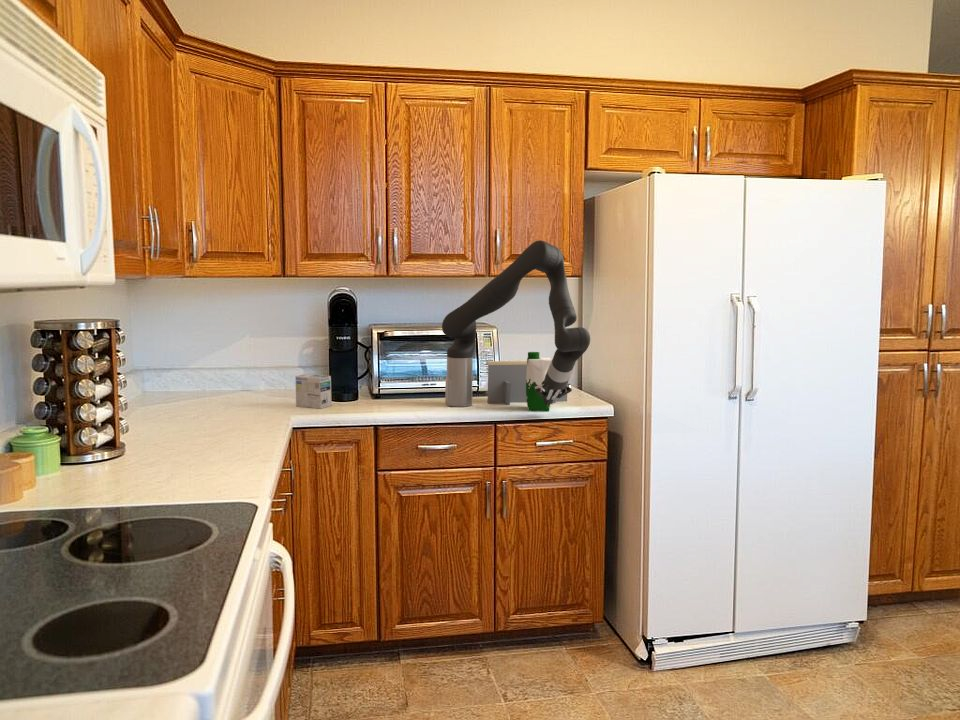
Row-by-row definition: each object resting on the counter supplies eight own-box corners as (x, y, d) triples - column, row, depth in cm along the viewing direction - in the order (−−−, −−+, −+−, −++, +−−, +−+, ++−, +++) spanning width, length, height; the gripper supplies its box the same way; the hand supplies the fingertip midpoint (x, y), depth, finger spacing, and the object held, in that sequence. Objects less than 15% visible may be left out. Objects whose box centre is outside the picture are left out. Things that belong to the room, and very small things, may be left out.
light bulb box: (332, 405, 256) (331, 375, 255) (321, 409, 250) (320, 378, 248) (306, 403, 260) (306, 373, 259) (295, 406, 254) (294, 375, 252)
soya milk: (524, 406, 260) (526, 350, 257) (550, 407, 259) (552, 351, 257) (526, 411, 251) (527, 353, 248) (552, 412, 251) (553, 354, 248)
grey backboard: (489, 405, 261) (490, 363, 259) (485, 401, 267) (486, 361, 265) (572, 403, 267) (573, 362, 265) (566, 399, 274) (567, 360, 272)
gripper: (576, 362, 235) (563, 393, 248) (537, 363, 232) (526, 394, 246) (581, 381, 231) (568, 411, 244) (541, 382, 228) (530, 413, 241)
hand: (547, 403), depth 245 cm, fingers closed
